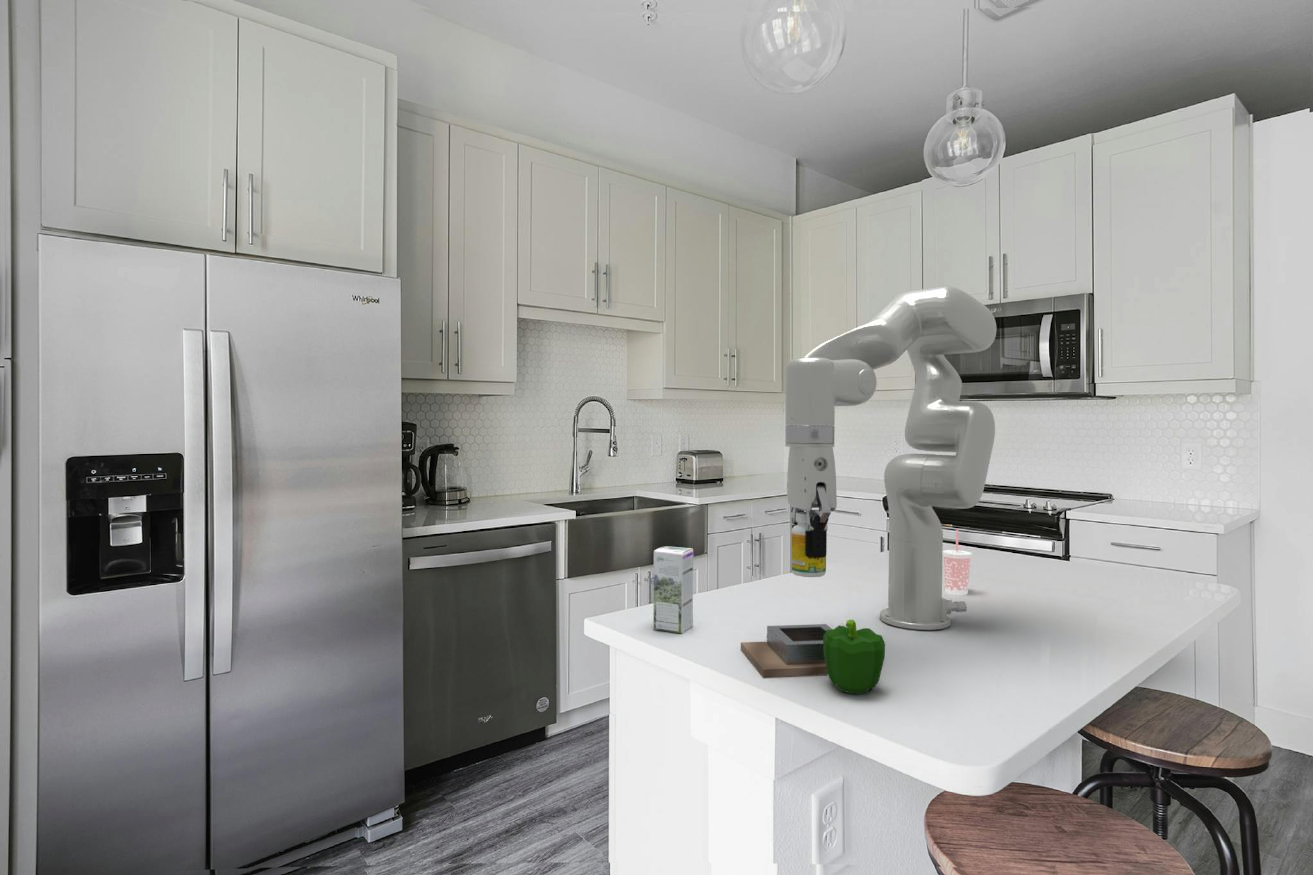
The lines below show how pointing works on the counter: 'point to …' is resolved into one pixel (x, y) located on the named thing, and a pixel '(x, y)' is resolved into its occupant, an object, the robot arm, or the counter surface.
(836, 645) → the bell pepper
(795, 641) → the socket collar
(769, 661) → the docking plate
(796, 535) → the supplement bottle
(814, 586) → the counter surface
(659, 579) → the syrup box
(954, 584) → the beverage cup
